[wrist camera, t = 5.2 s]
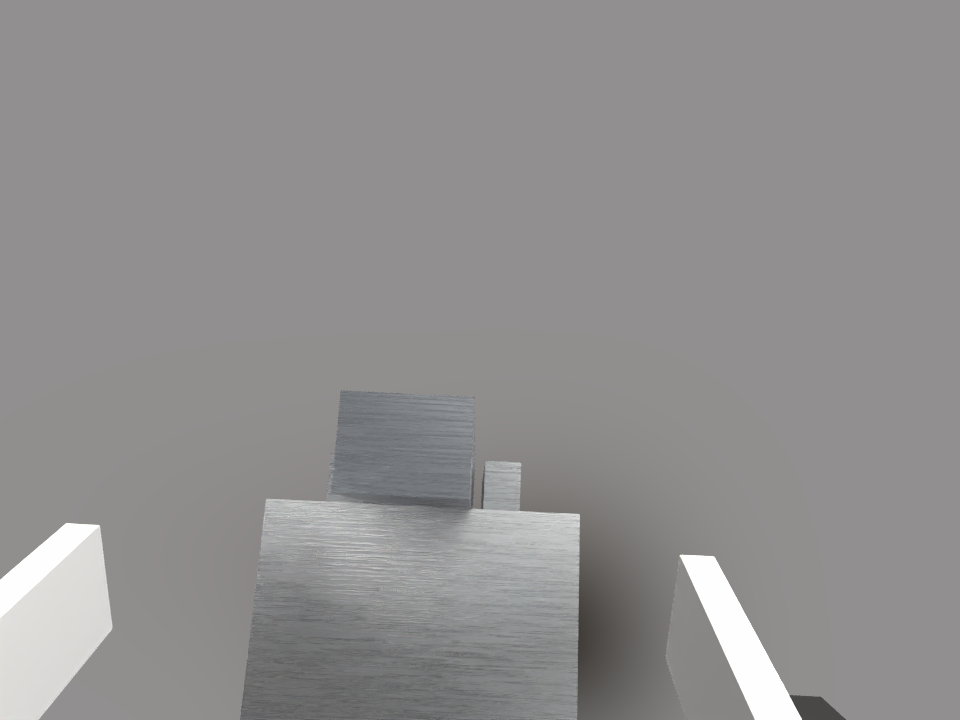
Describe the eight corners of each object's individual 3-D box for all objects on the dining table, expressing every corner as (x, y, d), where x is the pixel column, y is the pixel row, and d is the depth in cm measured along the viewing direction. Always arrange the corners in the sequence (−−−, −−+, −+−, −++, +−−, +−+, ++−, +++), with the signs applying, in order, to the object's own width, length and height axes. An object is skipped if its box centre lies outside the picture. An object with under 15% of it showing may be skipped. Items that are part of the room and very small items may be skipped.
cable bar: (330, 492, 20) (340, 390, 21) (408, 513, 43) (411, 464, 44) (469, 499, 20) (474, 397, 21) (472, 516, 43) (474, 467, 44)
